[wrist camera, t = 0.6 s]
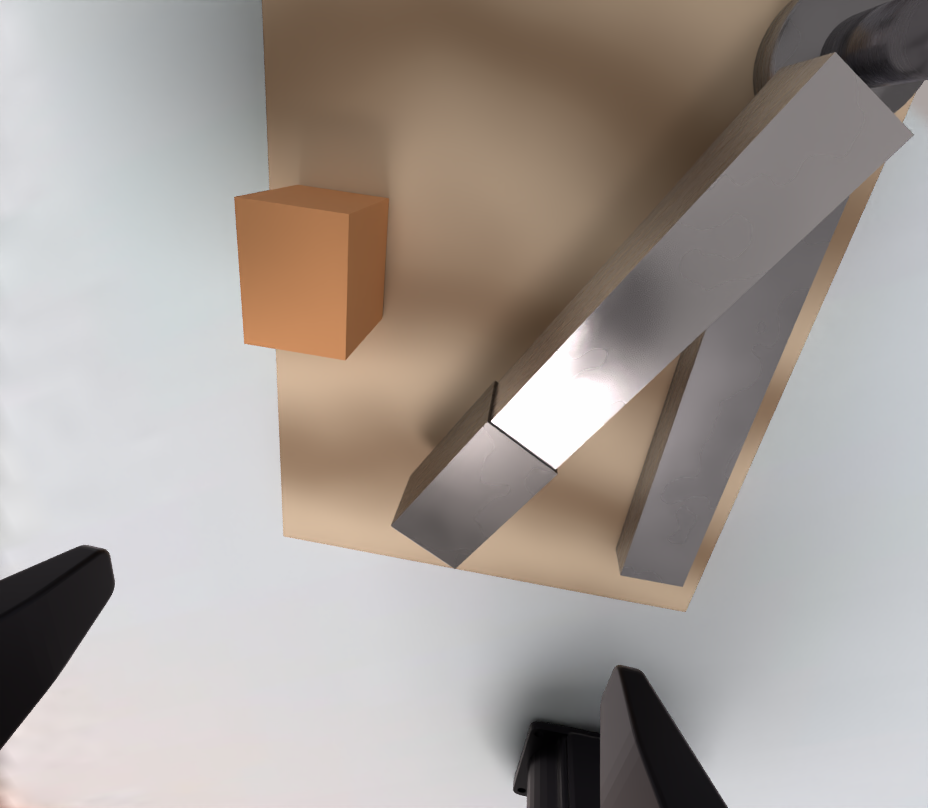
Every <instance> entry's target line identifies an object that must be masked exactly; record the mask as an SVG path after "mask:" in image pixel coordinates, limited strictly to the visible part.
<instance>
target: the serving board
mask: <svg viewBox="0 0 928 808" xmlns="http://www.w3.org/2000/svg"><path fill="white" fill-rule="evenodd" d="M790 1H791V0H262V15H263V40H264V65H265V89H266V114H267V139H268V164H269V189H270V190H273V189H278V188H283V187H288V186H293V185H304V186H310V187H317V188H324V189H331V190H337V191H344V192H351V193H358V194H364V195H371V196H378V197H384V198H389V208H388V226H387V244H386V262H385V280H384V298H383V315H382V319H381V321H380V322H379V323H378V324H377V325H376V326H375V327H374V328H373V330H372V331H371V332H370V333H369V334H368V335H367V336H366V338H365V339H364V340H363V341H362V342H361V343H360V344H359V346H358V347H357V348H356V349H355V350H354V351H353V352H352V354H351V355H350V356H349V357H348V358H347V359H346V360H339V359H333V358H327V357H321V356H316V355H310V354H304V353H298V352H292V351H286V350H280V349H276V363H277V388H278V412H279V437H280V462H281V487H282V512H283V536H285V537H290V538H295V539H301V540H306V541H311V542H317V543H322V544H327V545H333V546H338V547H343V548H348V549H354V550H359V551H364V552H370V553H375V554H380V555H386V556H391V557H396V558H401V559H407V560H412V561H417V562H423V563H428V564H433V565H439V566H444V567H449V568H453V567H451V566H449V565H448V564H446V563H445V562H443V561H442V560H440V559H439V558H437V557H436V556H434V555H433V554H431V553H430V552H428V551H427V550H425V549H424V548H422V547H421V546H419V545H418V544H416V543H415V542H413V541H412V540H410V539H409V538H407V537H406V536H404V535H403V534H401V533H400V532H398V531H397V530H395V529H394V528H392V527H391V524H392V521H393V519H394V516H395V513H396V511H397V508H398V506H399V503H400V501H401V498H402V495H403V493H404V490H405V488H406V485H407V482H408V480H409V477H410V475H411V474H412V473H413V472H414V470H415V469H416V468H417V467H418V466H419V465H420V464H421V463H422V462H423V460H424V459H425V458H426V457H427V456H428V455H429V454H430V453H431V451H432V450H433V449H434V448H435V447H436V446H437V445H438V444H439V442H440V441H441V440H442V439H443V438H444V437H445V436H446V435H447V434H448V432H449V431H450V430H451V429H452V428H453V427H454V426H455V425H456V423H457V422H458V421H459V420H460V419H461V418H462V417H463V416H464V414H465V413H466V412H467V411H468V410H469V409H470V408H471V407H472V406H473V404H474V403H475V402H476V401H477V400H478V399H479V398H480V397H481V395H482V394H483V393H484V392H485V391H486V390H487V389H488V388H489V386H490V385H491V384H492V383H493V382H494V381H497V382H499V381H500V380H501V379H502V377H503V376H504V375H505V374H506V373H507V372H508V371H509V370H510V369H511V367H512V366H513V365H514V364H515V363H516V362H517V361H518V360H519V358H520V357H521V356H522V355H523V354H524V353H525V352H526V351H527V350H528V348H529V347H530V346H531V345H532V344H533V343H534V342H535V341H536V340H537V338H538V337H539V336H540V335H541V334H542V333H543V332H544V331H545V330H546V328H547V327H548V326H549V325H550V324H551V323H552V322H553V321H554V320H555V318H556V317H557V316H558V315H559V314H560V313H561V312H562V311H563V309H564V308H565V307H566V306H567V305H568V304H569V303H570V302H571V301H572V299H573V298H574V297H575V296H576V295H577V294H578V293H579V292H580V291H581V289H582V288H583V287H584V286H585V285H586V284H587V283H588V282H589V281H590V279H591V278H592V277H593V276H594V275H595V274H596V273H597V272H598V271H599V269H600V268H601V267H602V266H603V265H604V264H605V263H606V262H607V261H608V259H609V258H610V257H611V256H612V255H613V254H614V253H615V252H616V250H617V249H618V248H619V247H620V246H621V245H622V244H623V243H624V242H625V240H626V239H627V238H628V237H629V236H630V235H631V234H632V233H633V232H634V230H635V229H636V228H637V227H638V226H639V225H640V224H641V223H642V222H643V220H644V219H645V218H646V217H647V216H648V215H649V214H650V213H651V212H652V210H653V209H654V208H655V207H656V206H657V205H658V204H659V203H660V202H661V200H662V199H663V198H664V197H665V196H666V195H667V194H668V193H669V191H670V190H671V189H672V188H673V187H674V186H675V185H676V184H677V183H678V181H679V180H680V179H681V178H682V177H683V176H684V175H685V174H686V173H687V171H688V170H689V169H690V168H691V167H692V166H693V165H694V164H695V163H696V161H697V160H698V159H699V158H700V157H701V156H702V155H703V154H704V153H705V151H706V150H707V149H708V148H709V147H710V146H711V145H712V144H713V143H714V141H715V140H716V139H717V138H718V137H719V136H720V135H721V134H722V132H723V131H724V130H725V129H726V128H727V127H728V126H729V125H730V124H731V122H732V121H733V120H734V119H735V118H736V117H737V116H738V115H739V114H740V112H741V111H742V110H743V109H744V108H745V107H746V106H747V105H748V104H749V102H750V101H751V100H752V99H753V98H754V97H755V95H754V89H753V69H754V62H755V58H756V55H757V51H758V48H759V46H760V43H761V41H762V39H763V37H764V35H765V33H766V31H767V29H768V28H769V26H770V24H771V23H772V21H773V20H774V19H775V17H776V16H777V15H778V14H779V12H780V11H781V10H782V9H783V8H784V7H785V6H786V5H787V4H788V3H789V2H790ZM914 96H915V94H914V95H913V96H912V97H911V98H910V99H909V100H908V101H907V103H906V104H905V105H904V106H902V107H901V108H900V109H899V110H898V111H897V112H896V113H894V114H895V115H896V116H897V117H898V118H899V120H900V121H901V122H902V123H903V120H904V118H905V116H906V114H907V111H908V109H909V107H910V105H911V102H912V100H913V98H914ZM884 163H885V162H884ZM884 163H883V164H882V165H881V166H880V167H879V168H878V169H877V170H876V171H875V172H874V173H873V174H872V175H870V176H869V177H868V178H867V179H866V180H865V181H864V182H863V183H862V184H861V185H860V186H859V187H858V188H857V189H855V190H854V191H853V192H852V193H851V194H850V196H849V199H848V201H847V203H846V206H845V208H844V210H843V213H842V215H841V217H840V220H839V222H838V224H837V227H836V229H835V231H834V234H833V236H832V239H831V241H830V243H829V246H828V248H827V250H826V253H825V255H824V257H823V260H822V262H821V264H820V267H819V269H818V271H817V274H816V276H815V278H814V281H813V283H812V285H811V288H810V290H809V292H808V295H807V297H806V299H805V302H804V304H803V306H802V309H801V311H800V313H799V316H798V318H797V320H796V323H795V325H794V328H793V330H792V332H791V335H790V337H789V339H788V342H787V344H786V346H785V349H784V351H783V353H782V356H781V358H780V360H779V363H778V365H777V367H776V370H775V372H774V374H773V377H772V379H771V381H770V384H769V386H768V388H767V391H766V393H765V395H764V398H763V400H762V402H761V405H760V407H759V409H758V412H757V414H756V417H755V419H754V421H753V424H752V426H751V428H750V431H749V433H748V435H747V438H746V440H745V442H744V445H743V447H742V449H741V452H740V454H739V456H738V459H737V461H736V463H735V466H734V468H733V470H732V473H731V475H730V477H729V480H728V482H727V484H726V487H725V489H724V491H723V494H722V496H721V498H720V501H719V503H718V506H717V508H716V510H715V513H714V515H713V517H712V520H711V522H710V524H709V527H708V529H707V531H706V534H705V536H704V538H703V541H702V543H701V545H700V548H699V550H698V552H697V555H696V557H695V559H694V562H693V564H692V566H691V569H690V571H689V573H688V576H687V578H686V580H685V583H684V585H683V587H680V586H675V585H669V584H664V583H658V582H653V581H648V580H642V579H637V578H632V577H626V576H621V575H620V571H619V565H618V560H617V554H616V546H617V543H618V540H619V537H620V534H621V531H622V528H623V525H624V522H625V519H626V516H627V513H628V510H629V507H630V504H631V501H632V498H633V495H634V492H635V489H636V486H637V483H638V480H639V477H640V474H641V471H642V468H643V465H644V462H645V459H646V456H647V453H648V450H649V447H650V444H651V441H652V438H653V435H654V432H655V429H656V426H657V423H658V420H659V417H660V414H661V411H662V408H663V405H664V402H665V399H666V396H667V393H668V390H669V387H670V384H671V381H672V378H673V375H674V372H675V369H676V366H677V363H678V360H679V357H680V354H681V353H680V354H679V355H678V356H677V357H676V358H675V359H674V360H672V361H671V362H670V363H669V364H668V365H667V366H666V367H665V368H664V369H663V370H662V371H661V372H660V373H659V374H657V375H656V376H655V377H654V378H653V379H652V380H651V381H650V382H649V383H648V384H647V385H646V386H645V387H644V388H643V389H641V390H640V391H639V392H638V393H637V394H636V395H635V396H634V397H633V398H632V399H631V400H630V401H629V402H628V403H626V404H625V405H624V406H623V407H622V408H621V409H620V410H619V411H618V412H617V413H616V414H615V415H614V416H613V417H611V418H610V419H609V420H608V421H607V422H606V423H605V424H604V425H603V426H602V427H601V428H600V429H599V430H598V431H596V432H595V433H594V434H593V435H592V436H591V437H590V438H589V439H588V440H587V441H586V442H585V443H584V444H583V445H581V446H580V447H579V448H578V449H577V450H576V451H575V452H574V453H573V454H572V455H571V456H570V457H569V458H568V459H567V460H565V461H564V462H563V463H562V464H561V465H560V466H559V467H558V468H557V471H558V474H557V475H556V476H555V477H554V478H553V479H552V480H551V481H550V482H549V483H548V484H547V485H545V486H544V487H543V488H542V489H541V490H540V491H539V492H538V493H537V494H536V495H535V496H534V497H532V498H531V499H530V500H529V501H528V502H527V503H526V504H525V505H524V506H523V507H522V508H521V509H520V510H518V511H517V512H516V513H515V514H514V515H513V516H512V517H511V518H510V519H509V520H508V521H507V522H506V523H504V524H503V525H502V526H501V527H500V528H499V529H498V530H497V531H496V532H495V533H494V534H493V535H491V536H490V537H489V538H488V539H487V540H486V541H485V542H484V543H483V544H482V545H481V546H480V547H479V548H477V549H476V550H475V551H474V552H473V553H472V554H471V555H470V556H469V557H468V558H467V559H466V560H465V561H463V562H462V563H461V564H460V565H459V566H458V567H457V568H456V569H460V570H465V571H470V572H476V573H481V574H486V575H492V576H497V577H502V578H507V579H513V580H518V581H523V582H529V583H534V584H539V585H545V586H550V587H555V588H560V589H566V590H571V591H576V592H582V593H587V594H592V595H598V596H603V597H608V598H613V599H619V600H624V601H629V602H635V603H640V604H645V605H651V606H656V607H661V608H667V609H672V610H677V611H682V612H686V610H687V608H688V605H689V603H690V601H691V599H692V596H693V594H694V592H695V590H696V587H697V585H698V583H699V581H700V578H701V576H702V574H703V572H704V569H705V567H706V565H707V563H708V560H709V558H710V556H711V553H712V551H713V549H714V547H715V544H716V542H717V540H718V538H719V535H720V533H721V531H722V529H723V526H724V524H725V522H726V520H727V517H728V515H729V513H730V511H731V508H732V506H733V504H734V502H735V499H736V497H737V495H738V493H739V490H740V488H741V486H742V484H743V481H744V479H745V477H746V475H747V472H748V470H749V468H750V466H751V463H752V461H753V459H754V457H755V454H756V452H757V450H758V447H759V445H760V443H761V441H762V438H763V436H764V434H765V432H766V429H767V427H768V425H769V423H770V420H771V418H772V416H773V414H774V411H775V409H776V407H777V405H778V402H779V400H780V398H781V396H782V393H783V391H784V389H785V387H786V384H787V382H788V380H789V378H790V375H791V373H792V371H793V369H794V366H795V364H796V362H797V360H798V357H799V355H800V353H801V351H802V348H803V346H804V344H805V341H806V339H807V337H808V335H809V332H810V330H811V328H812V326H813V323H814V321H815V319H816V317H817V314H818V312H819V310H820V308H821V305H822V303H823V301H824V299H825V296H826V294H827V292H828V290H829V287H830V285H831V283H832V281H833V278H834V276H835V274H836V272H837V269H838V267H839V265H840V263H841V260H842V258H843V256H844V254H845V251H846V249H847V247H848V245H849V242H850V240H851V238H852V235H853V233H854V231H855V229H856V226H857V224H858V222H859V220H860V217H861V215H862V213H863V211H864V208H865V206H866V204H867V202H868V199H869V197H870V195H871V193H872V190H873V188H874V186H875V184H876V181H877V179H878V177H879V175H880V172H881V170H882V168H883V166H884Z"/></svg>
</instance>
